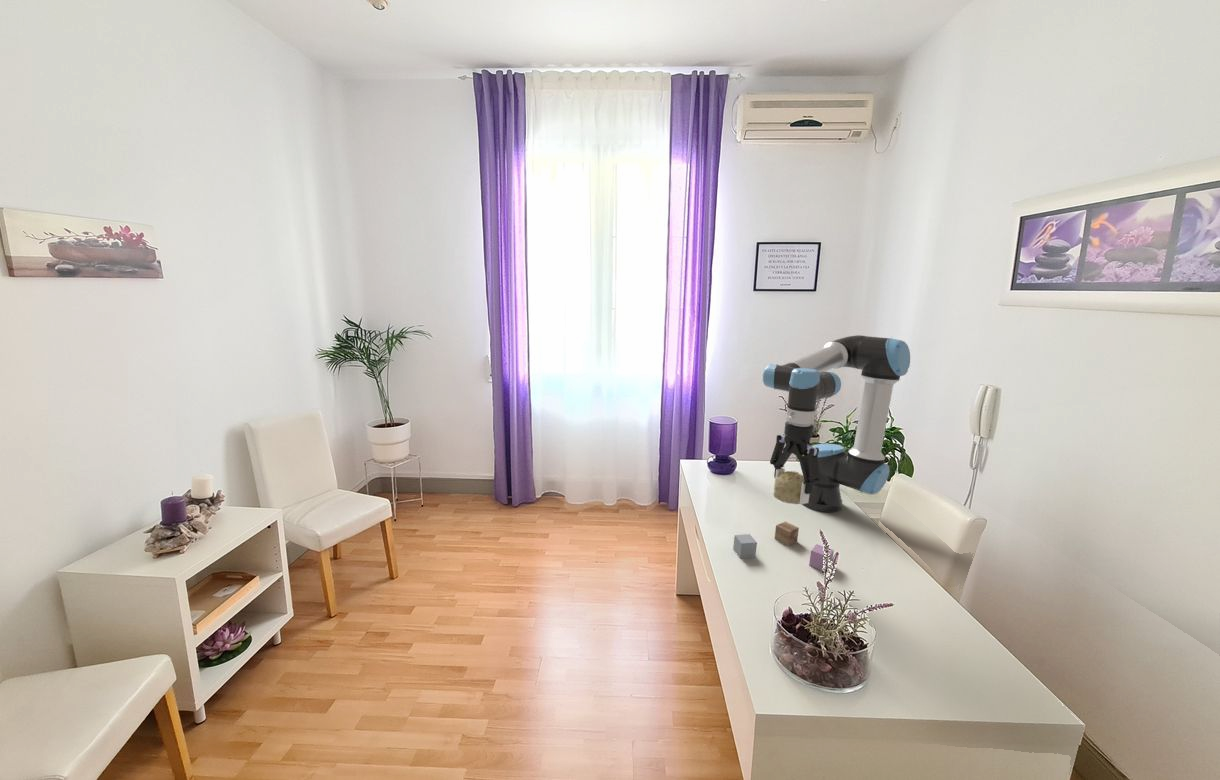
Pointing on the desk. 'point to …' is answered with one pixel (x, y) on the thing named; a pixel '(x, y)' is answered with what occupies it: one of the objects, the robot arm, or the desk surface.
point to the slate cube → (745, 546)
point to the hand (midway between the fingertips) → (790, 495)
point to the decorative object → (788, 487)
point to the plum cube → (818, 556)
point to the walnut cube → (786, 533)
